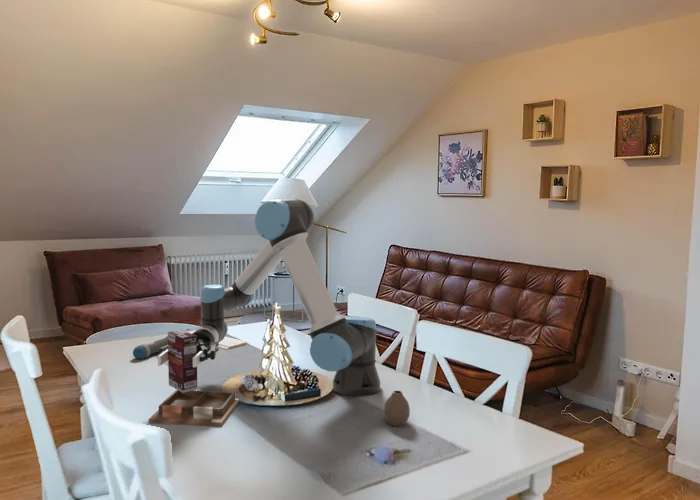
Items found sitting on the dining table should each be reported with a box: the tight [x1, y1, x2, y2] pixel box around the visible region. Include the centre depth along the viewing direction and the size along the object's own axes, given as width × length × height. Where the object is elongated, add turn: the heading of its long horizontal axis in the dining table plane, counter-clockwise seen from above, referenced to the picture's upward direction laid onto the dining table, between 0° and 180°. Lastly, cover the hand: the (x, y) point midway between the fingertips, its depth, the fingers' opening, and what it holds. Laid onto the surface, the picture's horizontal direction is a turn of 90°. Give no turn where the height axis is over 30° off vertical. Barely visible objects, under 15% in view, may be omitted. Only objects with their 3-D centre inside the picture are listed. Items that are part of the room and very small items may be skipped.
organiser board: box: [147, 389, 239, 427], centre depth 163 cm, size 20×18×4 cm
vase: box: [383, 390, 411, 427], centre depth 157 cm, size 7×7×9 cm
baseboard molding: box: [186, 327, 248, 350], centre depth 239 cm, size 31×3×12 cm
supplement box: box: [167, 329, 198, 393], centre depth 164 cm, size 9×5×16 cm, turn 45°
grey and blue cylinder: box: [132, 335, 168, 360], centre depth 221 cm, size 5×22×5 cm, turn 157°
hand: (176, 361), depth 160 cm, fingers closed on supplement box, 9 cm apart
